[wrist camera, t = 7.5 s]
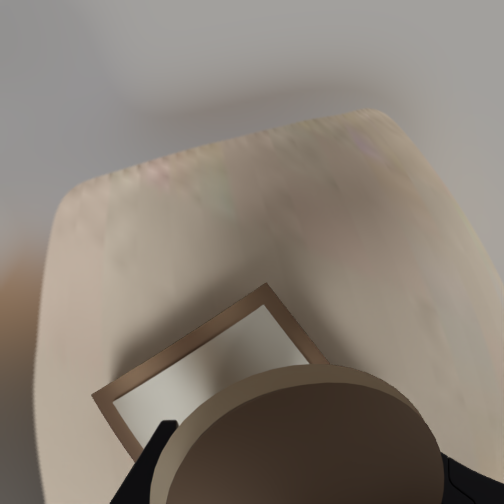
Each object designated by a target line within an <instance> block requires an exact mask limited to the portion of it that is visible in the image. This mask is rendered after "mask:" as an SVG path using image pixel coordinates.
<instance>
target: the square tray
mask: <svg viewBox="0 0 504 504" xmlns="http://www.w3.org/2000/svg"><path fill="white" fill-rule="evenodd" d="M304 364H327V365H330V363H329V362H328V361H327V360H326V358H325V357H324V356H323V354H322V353H321V352H320V351H319V349H318V348H317V347H316V346H315V344H314V343H313V342H312V340H311V339H310V338H309V337H308V335H307V334H306V333H305V331H304V330H303V329H302V328H301V326H300V325H299V324H298V322H297V321H296V320H295V319H294V317H293V316H292V315H291V313H290V312H289V311H288V310H287V308H286V307H285V306H284V304H283V303H282V302H281V301H280V299H279V298H278V297H277V295H276V294H275V293H274V292H273V290H272V289H271V288H270V286H269V285H268V284H267V283H265V284H263V285H262V286H260V287H259V288H257V289H256V290H254V291H253V292H251V293H250V294H248V295H247V296H245V297H244V298H242V299H241V300H239V301H238V302H236V303H235V304H233V305H232V306H230V307H229V308H227V309H226V310H224V311H223V312H221V313H220V314H218V315H217V316H215V317H214V318H212V319H211V320H209V321H208V322H206V323H205V324H203V325H202V326H200V327H198V328H197V329H195V330H194V331H192V332H191V333H189V334H188V335H186V336H185V337H183V338H181V339H180V340H178V341H177V342H175V343H174V344H172V345H171V346H169V347H167V348H166V349H164V350H163V351H161V352H160V353H158V354H156V355H155V356H153V357H152V358H150V359H148V360H147V361H145V362H144V363H142V364H140V365H139V366H137V367H136V368H134V369H132V370H131V371H129V372H128V373H126V374H124V375H123V376H121V377H120V378H118V379H116V380H115V381H113V382H111V383H110V384H108V385H106V386H105V387H103V388H102V389H100V390H98V391H97V392H95V393H93V394H92V395H91V396H92V397H93V399H94V401H95V403H96V404H97V406H98V408H99V409H100V411H101V413H102V414H103V416H104V417H105V419H106V421H107V422H108V424H109V425H110V427H111V428H112V430H113V432H114V433H115V435H116V436H117V438H118V439H119V441H120V442H121V443H122V445H123V446H124V448H125V449H126V451H127V452H128V453H129V455H130V456H131V458H132V459H133V460H134V462H136V461H137V459H138V457H139V456H140V454H141V453H142V451H143V449H144V448H145V446H146V445H147V443H148V441H149V440H150V438H151V437H152V435H153V433H154V432H155V430H156V428H157V427H158V425H159V424H160V422H161V421H162V420H176V421H177V422H178V425H179V426H180V425H181V423H182V422H183V421H184V420H185V419H186V418H187V417H188V416H189V415H190V414H191V413H192V412H193V411H194V410H195V409H196V408H197V407H198V406H200V405H201V404H202V403H204V402H205V401H206V400H208V399H209V398H211V397H212V396H213V395H215V394H216V393H218V392H220V391H221V390H223V389H225V388H227V387H228V386H230V385H232V384H234V383H236V382H238V381H241V380H243V379H245V378H247V377H250V376H252V375H255V374H258V373H262V372H265V371H268V370H271V369H276V368H281V367H287V366H292V365H304Z"/></svg>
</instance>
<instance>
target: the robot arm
mask: <svg viewBox="0 0 504 504" xmlns="http://www.w3.org/2000/svg"><path fill="white" fill-rule="evenodd" d="M178 427H179V425H178V422H177V421H176V420H162V421H161V422H160V424H159V425H158V427H157V428H156V430H155V432H154V433H153V435H152V437H151V438H150V440H149V441H148V443H147V445H146V446H145V448H144V449H143V451H142V453H141V454H140V456H139V457H138V459H137V461H136V462H135V464H134V465H133V467H132V469H131V470H130V472H129V473H128V475H127V477H126V478H125V480H124V481H123V483H122V485H121V486H120V488H119V489H118V491H117V493H116V494H115V496H114V497H113V499H112V500H111V502H110V504H150V491H151V483H152V479H153V474H154V470H155V467H156V465H157V462H158V460H159V457H160V455H161V453H162V451H163V449H164V447H165V446H166V444H167V442H168V441H169V439H170V437H171V436H172V434H173V433H174V432H175V431H176V429H177V428H178ZM440 453H441V457H442V461H443V469H444V491H443V497H442V502H441V504H504V484H503V483H501V482H498V481H496V480H493V479H491V478H488V477H486V476H484V475H482V474H480V473H477V472H475V471H473V470H471V469H469V468H467V467H466V466H464V465H462V464H460V463H458V462H457V461H455V460H453V459H452V458H450V457H448V456H447V455H445V454H443V453H442V452H440Z"/></svg>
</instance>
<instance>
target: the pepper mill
mask: <svg viewBox="0 0 504 504" xmlns="http://www.w3.org/2000/svg"><path fill="white" fill-rule="evenodd" d="M443 491H444V469H443V461H442V457H441V453H440V449H439V447H438V444H437V442H436V439H435V437H434V435H433V434H432V432H431V430H430V429H429V427H428V425H427V424H426V423H425V421H424V420H423V418H422V417H421V415H420V413H419V412H418V410H417V409H416V408H415V407H414V406H413V404H412V403H411V402H410V401H409V400H408V399H407V398H406V397H405V396H404V395H403V394H402V393H400V392H399V391H398V390H397V389H396V388H394V387H393V386H391V385H390V384H388V383H386V382H385V381H383V380H381V379H379V378H377V377H375V376H373V375H371V374H368V373H366V372H362V371H359V370H356V369H353V368H348V367H343V366H337V365H327V364H304V365H292V366H287V367H281V368H276V369H271V370H268V371H265V372H262V373H258V374H255V375H252V376H250V377H247V378H245V379H243V380H241V381H238V382H236V383H234V384H232V385H230V386H228V387H227V388H225V389H223V390H221V391H220V392H218V393H216V394H215V395H213V396H212V397H211V398H209V399H208V400H206V401H205V402H204V403H202V404H201V405H200V406H198V407H197V408H196V409H195V410H194V411H193V412H192V413H191V414H190V415H189V416H188V417H187V418H186V419H185V420H184V421H183V422H182V423H181V425H180V426H179V427H178V428H177V429H176V431H175V432H174V433H173V434H172V436H171V437H170V439H169V441H168V442H167V444H166V446H165V447H164V449H163V451H162V453H161V455H160V457H159V460H158V462H157V465H156V467H155V470H154V474H153V479H152V483H151V491H150V504H441V502H442V497H443Z"/></svg>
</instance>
